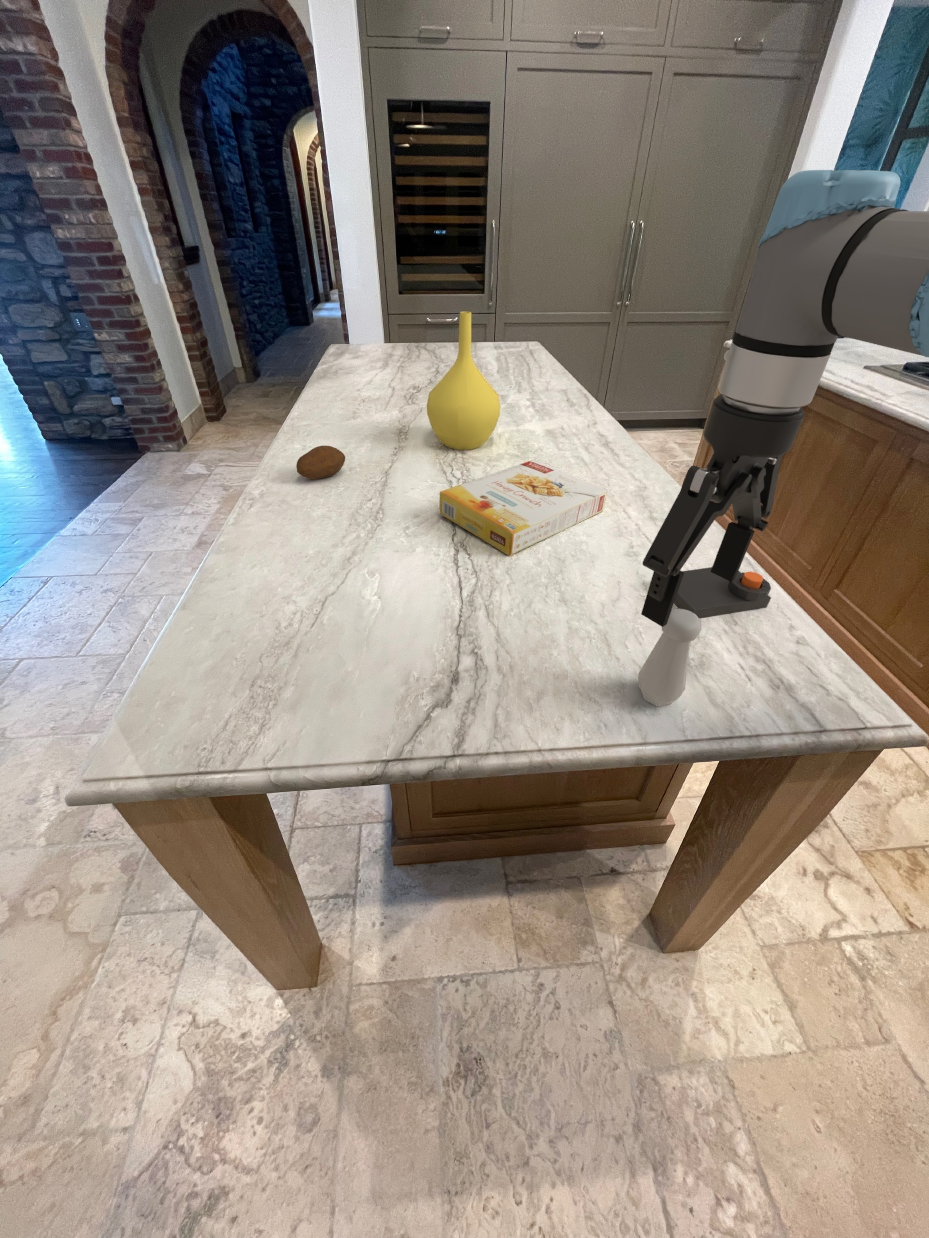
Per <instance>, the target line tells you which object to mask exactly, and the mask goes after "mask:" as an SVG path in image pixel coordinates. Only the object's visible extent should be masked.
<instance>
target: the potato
mask: <svg viewBox="0 0 929 1238" xmlns="http://www.w3.org/2000/svg"><path fill="white" fill-rule="evenodd" d="M345 462H346V455H345V453H344V452H343V451H341V450H340V449H338V448H336V447H334V446H331V445H319V446H315V447H313V448H311V449H309V451H308V452H305V453H304V454H302V455H301V456H299V458H298V459H297V461H296V465H295V466H296V467H295V468H296V472H297V474H298V475H299V476H300V477H303V478H305V479H308V480H319V479H325V478H330V477H332V476H335V475H337V474H338V473H339V472H340V471H341V470H342V468H343V466H344V464H345Z"/></svg>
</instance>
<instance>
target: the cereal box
mask: <svg viewBox="0 0 929 1238" xmlns="http://www.w3.org/2000/svg"><path fill="white" fill-rule="evenodd" d="M607 494H608V489H607V488H606V487H603V486H601V485H598V484H595V483H593V482H591V481H588V480H586V479H583V478H581V477H578V476H576V475H573V474H571V473H569V472H566V471H565V470H562V469H560V468H556V467H554V466H552V465H550V464H548V463H545V462H543V461H540V460H538V459H535V458H534V459H531V460H529V461H526V462H523V463H519V464H517V465H514V466H511V467H507V468H504V469H502V470H499V471H496V472H494V473H490V474H488V475H485V476H482V477H479V478H476V479H472V480H470V481H467V482H464V483H460V484H458V485H455V486H452V487H449V488H447V489H443V490H441V491H439V503H438V505H439V506H438V510H439V514H440V516H442V517H445V519H448V520H449V521H450V522H453V523H454V524H456V525H458V526H459V527H461V528H463V529H464V530H466V531H468V532H469V533H470V534H473V535H474V536H475V537H477V538H479V539H481V540H483V542H486V543H487V544H489V545H490V546H492V547H494V548H495V549H497V550H498V551H500V552H502V553H504V554H505V555H507V556H510V557H511V556H512V555H514V554H516V553H518V552H520V551H522V550H525V549H527V548H530V547H531V546H533V545H536V544H537V543H539V542H541V541H543V540H545V539H548V538H550V537H552V536H554V535H557V534H558V533H560V532H562V531H564V530H567V529H569V528H571V527H573V526H576V525H577V524H579V523H581V522H583V521H586V520H588V519H589V518H591V517H593V516H596V515H598V514H599V513H602V512H604V508H605V503H606V499H607V496H608V495H607Z"/></svg>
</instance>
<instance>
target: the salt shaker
mask: <svg viewBox="0 0 929 1238" xmlns="http://www.w3.org/2000/svg"><path fill="white" fill-rule="evenodd" d="M661 632H662V634H661V635H660V636H659V638H658V640H657V642H656V643H655V645H654V647H653V648H652V650H651V651H650V653H649V655H648V656H647V658H646V660H645V661H644V663H643V665H642V667H641V668H640V670H639V671H638V673H637V674H638V675H637V685H638V687H639V689H640V692H641V695H642V698H643V700H644V701H646V702H648V703H650V704H652V705H653V706H655V707H665V706H670V705H671V704H673V703H674V702H675V701H677V700H678V699H679V698H680V697H681V696H682V695H683V693H684V692H685V691H686V685H687V676H688V675H687V674H688V666H689V658H690V648H691V642H693V641H695V640H697V638H698V637H699V636H700V633H701V632H702V620H701V618H698V617H697V615H696V614H694V613H692V612H691V611H688V610H685V609H680V608H673V609H672V610H671V613H670V616H669V619H668V622H667V624H666V625H665V626H663V627H662V626H661Z"/></svg>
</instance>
